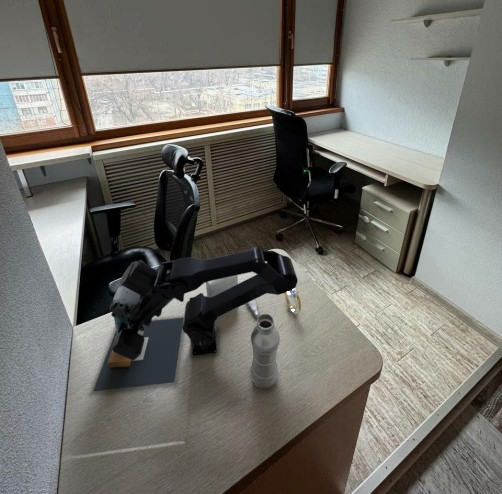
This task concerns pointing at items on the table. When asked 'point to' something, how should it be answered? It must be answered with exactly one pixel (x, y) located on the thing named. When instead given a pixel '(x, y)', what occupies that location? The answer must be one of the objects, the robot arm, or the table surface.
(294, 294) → the gold diamond ring
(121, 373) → the desk mat
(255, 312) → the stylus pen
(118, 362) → the peg on wooden base
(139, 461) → the table surface
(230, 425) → the table surface
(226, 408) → the table surface
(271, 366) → the plastic bottle
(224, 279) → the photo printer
